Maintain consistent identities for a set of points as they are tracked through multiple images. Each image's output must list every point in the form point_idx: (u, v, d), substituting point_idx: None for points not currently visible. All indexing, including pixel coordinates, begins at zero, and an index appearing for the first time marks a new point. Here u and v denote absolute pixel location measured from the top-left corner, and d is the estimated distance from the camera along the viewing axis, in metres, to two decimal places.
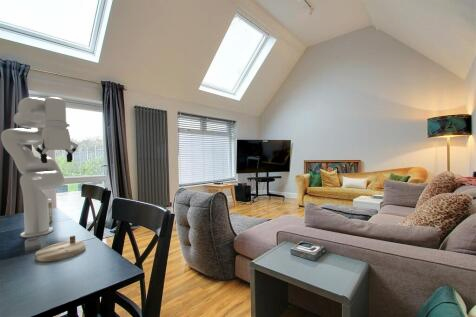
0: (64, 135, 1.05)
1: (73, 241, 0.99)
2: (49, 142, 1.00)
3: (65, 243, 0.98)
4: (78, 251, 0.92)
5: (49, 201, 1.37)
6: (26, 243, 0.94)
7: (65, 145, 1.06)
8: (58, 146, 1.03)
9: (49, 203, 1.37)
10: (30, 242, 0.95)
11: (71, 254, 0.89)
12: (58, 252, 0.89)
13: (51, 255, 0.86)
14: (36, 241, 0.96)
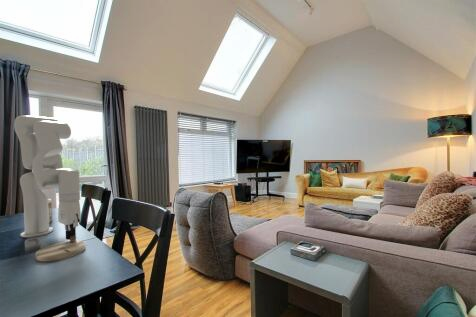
0: None
1: (73, 241, 0.99)
2: None
3: (65, 243, 0.98)
4: (77, 251, 0.92)
5: (49, 201, 1.37)
6: (26, 243, 0.94)
7: None
8: None
9: (49, 203, 1.37)
10: (30, 242, 0.95)
11: (70, 254, 0.89)
12: (58, 252, 0.89)
13: (50, 255, 0.86)
14: (36, 241, 0.96)
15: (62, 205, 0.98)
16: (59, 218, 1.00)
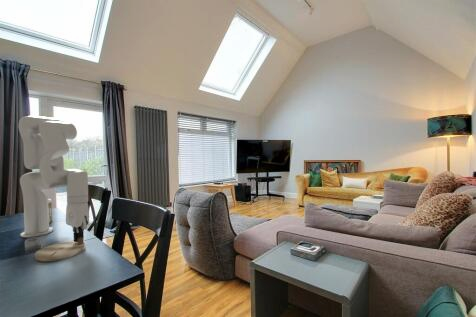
0: None
1: (79, 243, 0.96)
2: None
3: (76, 243, 0.98)
4: (57, 258, 0.86)
5: (49, 201, 1.37)
6: (26, 243, 0.94)
7: None
8: None
9: (49, 203, 1.37)
10: (30, 242, 0.95)
11: (48, 259, 0.85)
12: (48, 252, 0.89)
13: (39, 254, 0.88)
14: (36, 241, 0.96)
15: (70, 207, 0.96)
16: (67, 220, 0.98)
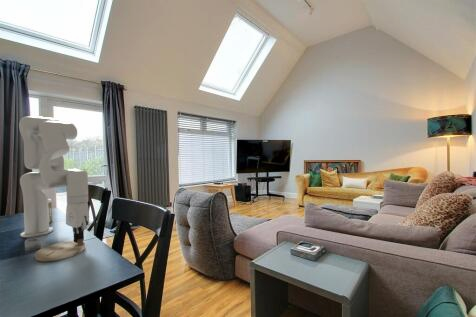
0: None
1: (78, 245, 0.95)
2: None
3: None
4: (51, 259, 0.85)
5: (49, 201, 1.37)
6: (26, 243, 0.94)
7: None
8: None
9: (49, 203, 1.37)
10: (30, 242, 0.95)
11: (43, 259, 0.85)
12: (47, 252, 0.90)
13: (39, 253, 0.89)
14: (36, 241, 0.96)
15: (70, 207, 0.95)
16: (67, 220, 0.97)
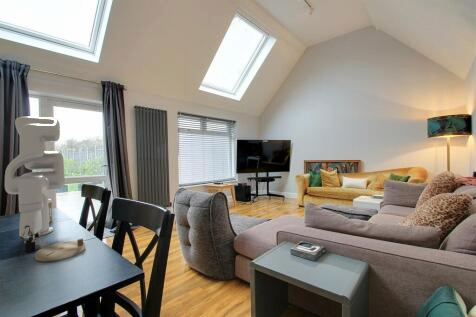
0: (40, 215, 1.00)
1: (78, 245, 0.95)
2: (35, 227, 0.94)
3: None
4: (51, 259, 0.85)
5: (49, 201, 1.37)
6: None
7: (40, 225, 1.00)
8: (37, 229, 0.97)
9: (49, 203, 1.37)
10: None
11: (43, 259, 0.85)
12: (47, 252, 0.90)
13: (39, 253, 0.89)
14: (36, 241, 0.96)
15: None
16: None
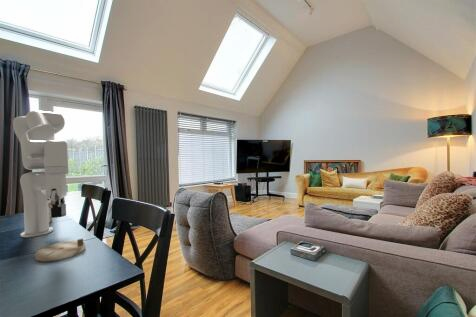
0: (65, 181, 0.95)
1: (78, 245, 0.95)
2: (61, 191, 0.90)
3: None
4: (51, 259, 0.85)
5: (49, 201, 1.37)
6: None
7: (65, 192, 0.96)
8: (63, 194, 0.93)
9: (49, 203, 1.37)
10: None
11: (43, 259, 0.85)
12: (47, 252, 0.90)
13: (39, 253, 0.89)
14: (62, 206, 0.92)
15: None
16: None
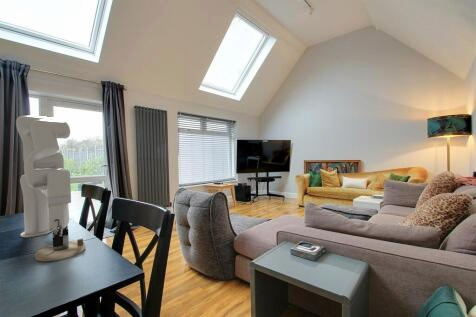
0: (68, 209, 0.96)
1: (78, 245, 0.95)
2: (64, 221, 0.91)
3: None
4: (51, 259, 0.85)
5: None
6: None
7: (68, 220, 0.96)
8: (66, 223, 0.93)
9: None
10: None
11: (43, 259, 0.85)
12: (47, 252, 0.90)
13: (39, 253, 0.89)
14: (65, 239, 0.92)
15: None
16: None
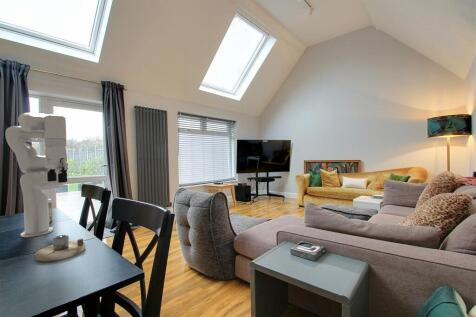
0: None
1: (78, 245, 0.95)
2: None
3: None
4: (51, 259, 0.85)
5: (49, 201, 1.37)
6: (55, 241, 0.91)
7: None
8: None
9: (49, 203, 1.37)
10: (59, 240, 0.91)
11: (43, 259, 0.85)
12: (47, 252, 0.90)
13: (39, 253, 0.89)
14: (65, 239, 0.92)
15: (48, 150, 0.98)
16: (45, 164, 1.00)
